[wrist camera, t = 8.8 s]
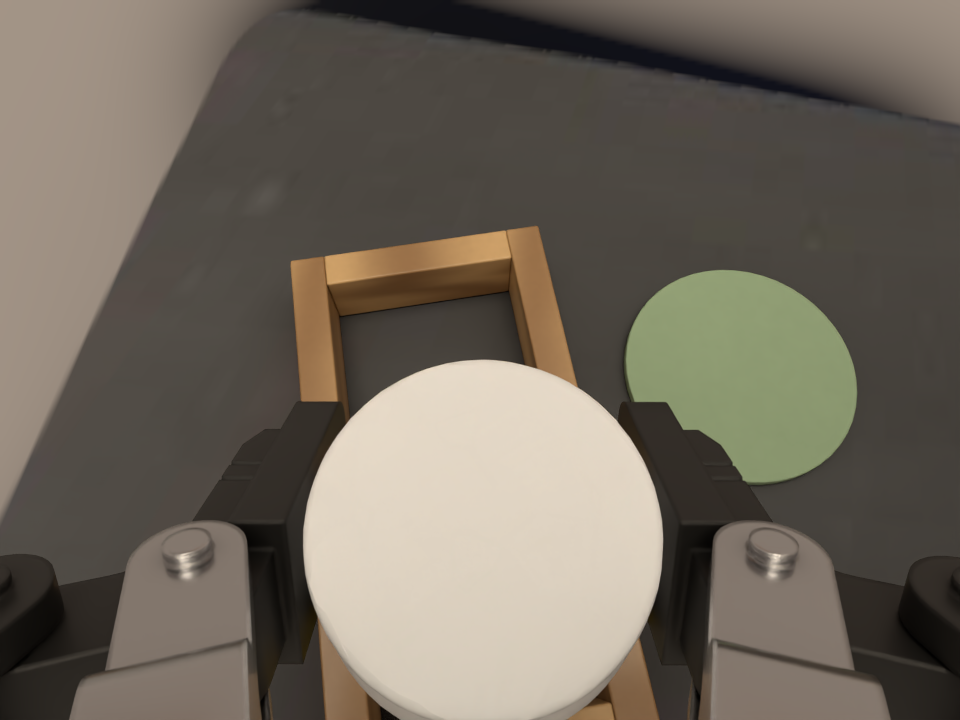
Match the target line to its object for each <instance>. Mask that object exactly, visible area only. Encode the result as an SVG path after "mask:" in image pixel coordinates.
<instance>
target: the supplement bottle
mask: <svg viewBox="0 0 960 720" xmlns="http://www.w3.org/2000/svg"><path fill="white" fill-rule="evenodd" d="M303 555H304V567H305V576H306V580H307V585H308V589H309V593H310V596H311V600H312V603H313V606H314V608H315V611H316V614H317V616H318V618H319V621H320V623H321V625H322V627H323V629H324V631H325V633H326V635H327V637H328V639H329V640H330V642H331V643H332V645H333V646H334V648H335V649H336V650H337V653H338V654H339V656H340V658H341V659H342V661H343V663H344V664H345V666H346V668H347V669H348V671H349V672H350V673H351V675H352V676H353V677H354V678H355V680H356V681H357V682H358V684H359V685H360V686H361V687H362V688H363V689H364V690H365V692H366V693H367V694H368V695H369V696H371V697H372V698H373V699H374V700H375V701H376V702H377V703H378V704H379V705H380V706H381V707H383V708H384V709H386V710H387V711H388V712H390V713H391V714H393V715H394V716H396V717H397V718H399V719H400V720H567V719H568V718H570V717H571V716H573V715H574V714H576V713H577V712H578V711H580V710H581V709H582V708H584V707H585V706H586V705H588V704H589V703H590V702H591V701H592V700H593V699H594V698H595V697H596V696H597V695H598V694H599V693H600V692H601V691H602V690H603V689H604V688H605V687H606V686H607V684H608V683H609V682H610V680H611V679H612V678H613V677H614V675H615V674H616V673H617V671H618V670H619V668H620V667H621V665H622V664H623V662H624V661H625V659H626V657H627V656H628V654H629V653H630V651H631V650H632V648H633V646H634V645H635V643H636V641H637V640H638V638H639V637H640V635H641V633H642V631H643V629H644V626H645V624H646V622H647V620H648V617H649V615H650V612H651V610H652V607H653V604H654V602H655V599H656V595H657V591H658V588H659V582H660V576H661V570H662V555H663V527H662V517H661V512H660V507H659V503H658V499H657V495H656V491H655V487H654V484H653V482H652V479H651V477H650V474H649V472H648V469H647V467H646V465H645V463H644V461H643V459H642V457H641V455H640V454H639V452H638V450H637V449H636V447H635V445H634V444H633V442H632V440H631V438H630V437H629V436H628V435H627V433H626V432H625V431H624V430H623V428H622V427H621V426H620V425H619V423H618V422H617V421H616V420H615V419H614V418H613V417H612V416H611V415H610V414H609V413H608V411H607V410H606V409H604V408H603V407H602V406H601V405H600V404H599V403H598V402H597V401H596V400H594V399H593V398H592V397H590V396H589V395H588V394H586V393H585V392H583V391H582V390H580V389H579V388H577V387H575V386H574V385H572V384H571V383H569V382H567V381H565V380H563V379H561V378H559V377H557V376H555V375H552V374H550V373H547V372H545V371H542V370H539V369H536V368H532V367H529V366H525V365H521V364H516V363H512V362H505V361H497V360H470V361H459V362H453V363H446V364H443V365H439V366H435V367H432V368H428V369H425V370H423V371H420V372H417V373H415V374H413V375H410V376H408V377H406V378H404V379H402V380H400V381H398V382H397V383H395V384H393V385H391V386H390V387H388V388H386V389H385V390H383V391H381V392H380V393H379V394H378V395H376V396H375V397H374V398H373V399H371V400H370V401H369V402H368V403H367V404H366V405H364V406H363V407H362V408H361V409H360V410H359V411H358V412H357V413H356V414H355V415H354V416H353V417H352V418H351V419H350V420H349V421H348V423H347V424H346V425H345V426H344V428H343V429H342V430H341V431H340V433H339V434H338V435H337V437H336V438H335V440H334V441H333V443H332V445H331V446H330V448H329V449H328V451H327V452H326V454H325V456H324V458H323V460H322V462H321V464H320V467H319V469H318V472H317V474H316V476H315V479H314V482H313V485H312V488H311V491H310V495H309V498H308V502H307V507H306V514H305V521H304V527H303Z"/></svg>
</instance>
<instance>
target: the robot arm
mask: <svg viewBox="0 0 960 720" xmlns="http://www.w3.org/2000/svg"><path fill="white" fill-rule="evenodd" d="M618 423H619V425H620V426H621V427H622V428H623V430H624V431H625V432H626V433H627V435H628V436H629V437H630V438H631V440H632V442H633V444H634V445H635V447H636V449H637V450H638V452H639V454H640V455H641V457H642V459H643V461H644V463H645V465H646V467H647V469H648V472H649V474H650V477H651V479H652V482H653V484H654V487H655V491H656V495H657V499H658V503H659V507H660V512H661V517H662V527H663V555H662V570H661V576H660V582H659V588H658V591H657V595H656V599H655V602H654V604H653V607H652V610H651V612H650V615H649V617H648V623H649V626H650V629H651V632H652V636H653V639H654V642H655V645H656V648H657V652H658V655H659V658H660V661H661V664H662V665H688V668H689V670H690V673H691V676H692V683H691V689H690V696H689V702H688V715H687V720H960V558H958V557H950V556H933V557H926V558H923V559H920V560H918V561H916V562H915V563H914V564H913V565H912V566H911V567H910V570H909V572H908V576H907V579H906V583H905V586H899V585H895V584H890V583H885V582H880V581H875V580H870V579H865V578H860V577H856V576H851V575H847V574H843V573H840V572H837V571H834V567H833V563H832V560H831V558H830V556H829V555H828V553H827V552H826V551H825V550H824V549H823V548H822V546H820V545H819V544H818V543H817V542H816V541H814V540H813V539H811V538H810V537H808V536H807V535H805V534H803V533H801V532H799V531H797V530H794V529H792V528H790V527H787V526H784V525H780V524H777V523H773V521H772V520H771V518H770V517H769V516H768V514H767V513H766V511H765V510H764V508H763V507H762V505H761V504H760V502H759V501H758V499H757V498H756V496H755V495H754V493H753V492H752V490H751V489H750V487H749V486H748V484H747V483H746V481H743V479H742V475H741V474H740V472H739V471H738V469H737V468H736V466H733V462H732V460H731V459H730V457H729V456H728V455H727V453H726V452H725V450H724V449H723V447H722V446H721V444H719V443H718V442H716V441H715V440H713V439H712V438H710V437H709V436H707V435H706V434H704V433H703V432H701V431H700V430H683V428H682V427H681V425H680V423H679V422H678V420H677V418H676V416H675V415H674V413H673V411H672V410H671V408H670V406H669V405H668V403H667V402H622V403H621V406H620V409H619V415H618ZM345 425H346V420H345V411H344V406H343V404H342V402H341V401H298V402H297V403H296V404H295V406H294V407H293V409H292V411H291V412H290V414H289V416H288V418H287V419H286V421H285V423H284V424H283V426H282V428H281V429H265V430H263V431H262V432H260V433H259V434H257V435H256V436H255V437H253V438H252V439H250V440H249V441H247V442H246V443H244V444H243V445H242V447H241V448H240V450H239V451H238V453H237V454H236V456H235V457H234V459H233V460H232V464H231V465H229V466H228V468H227V469H226V471H225V472H224V474H223V475H222V480H219V481H218V483H217V484H216V486H215V487H214V489H213V490H212V492H211V493H210V495H209V496H208V498H207V499H206V501H205V502H204V504H203V506H202V507H201V509H200V510H199V512H198V513H197V515H196V516H195V518H194V519H193V521H192V522H188V523H183V524H180V525H176V526H173V527H170V528H168V529H166V530H163V531H161V532H159V533H157V534H155V535H153V536H152V537H150V538H149V539H147V540H146V541H144V542H143V543H142V544H141V545H140V546H138V548H137V549H136V550H135V551H134V552H133V553H132V555H131V556H130V558H129V560H128V563H127V567H126V571H125V572H122V573H118V574H114V575H110V576H105V577H100V578H95V579H90V580H85V581H80V582H76V583H71V584H66V585H61V586H58V582H57V579H56V575H55V572H54V569H53V566H52V564H51V563H50V562H49V561H48V560H46V559H44V558H43V557H39V556H36V555H29V554H14V555H5V556H0V720H273V715H272V702H271V696H270V689H269V686H270V684H271V681H272V678H273V675H274V672H275V670H276V667H277V664H303V662H304V659H305V656H306V652H307V649H308V646H309V643H310V639H311V636H312V633H313V630H314V626H315V623H316V620H317V614H316V611H315V608H314V606H313V603H312V600H311V596H310V593H309V589H308V585H307V580H306V576H305V567H304V555H303V527H304V521H305V514H306V507H307V502H308V498H309V495H310V491H311V488H312V485H313V482H314V479H315V476H316V474H317V472H318V469H319V467H320V464H321V462H322V460H323V458H324V456H325V454H326V452H327V451H328V449H329V448H330V446H331V445H332V443H333V441H334V440H335V438H336V437H337V435H338V434H339V433H340V431H341V430H342V429H343V428H344V426H345Z"/></svg>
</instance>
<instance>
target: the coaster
mask: <svg viewBox="0 0 960 720" xmlns="http://www.w3.org/2000/svg"><path fill="white" fill-rule="evenodd" d="M624 374H625V381H626V386H627V391H628V393H629V396H630V399H631V402H667V403H668V405H669V406H670V408H671V410H672V411H673V413H674V415H675V416H676V418H677V420H678V422H679V423H680V425H681V427H682V428H683V430H700V431H701V432H703V433H704V434H706V435H707V436H709V437H710V438H712V439H713V440H715V441H716V442H718V443H719V444H721V446H722V447H723V449H724V450H725V452H726V453H727V455H728V456H729V457H730V459H731V460H732V462H733V466H736V468H737V469H738V471H739V472H740V474H741V475H742V479H743V481H746V483H747V484H748V485H765V484H774V483H779V482H783V481H787V480H791V479H793V478H796V477H798V476H801V475H803V474H805V473H807V472H809V471H810V470H812V469H814V468H815V467H817V466H819V465H820V464H822V463H823V462H824V461H825V460H826V459H828V458H829V457H830V456H831V455H832V454H833V453H834V452H835V450H836V449H837V448H838V447H839V446H840V445H841V443H842V441H843V440H844V438H845V436H846V435H847V433H848V431H849V428H850V426H851V424H852V421H853V417H854V413H855V409H856V400H857V384H856V376H855V371H854V366H853V363H852V360H851V357H850V354H849V351H848V349H847V347H846V345H845V343H844V341H843V339H842V338H841V336H840V335H839V333H838V332H837V330H836V328H835V327H834V326H833V324H832V323H831V322H830V321H829V320H828V318H827V317H826V316H825V315H824V314H823V313H822V312H821V311H820V310H819V309H818V308H817V307H816V306H815V305H814V304H813V303H811V302H810V301H809V300H808V299H806V298H805V297H804V296H802V295H801V294H799V293H798V292H796V291H794V290H793V289H791V288H790V287H788V286H786V285H783V284H781V283H779V282H777V281H775V280H772V279H770V278H767V277H764V276H761V275H757V274H753V273H749V272H742V271H734V270H716V271H706V272H701V273H696V274H692V275H689V276H687V277H684V278H681V279H679V280H677V281H675V282H673V283H671V284H669V285H667V286H666V287H664V288H663V289H661V290H660V291H659V292H657V293H656V294H655V295H654V296H653V297H652V298H651V299H650V300H649V301H648V302H647V303H646V304H645V306H644V307H643V308H642V309H641V311H640V312H639V314H638V316H637V318H636V319H635V321H634V323H633V325H632V328H631V330H630V333H629V335H628V338H627V343H626V347H625V354H624Z"/></svg>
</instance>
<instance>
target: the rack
mask: <svg viewBox="0 0 960 720" xmlns="http://www.w3.org/2000/svg"><path fill="white" fill-rule="evenodd" d="M290 264H291V277H292V290H293V303H294V316H295V330H296V343H297V356H298V369H299V382H300V395H301V401H341V402H342V404H343V406H344V411H345V420H346V424H347V423H348V421H349V420H350V414H349V405H348V395H347V386H346V376H345V367H344V357H343V348H342V338H341V329H340V319H339V315H340V316H344V315H351V314H358V313H364V312H371V311H378V310H384V309H391V308H398V307H404V306H411V305H418V304H424V303H431V302H438V301H444V300H451V299H458V298H464V297H471V296H478V295H484V294H491V293H498V292H504V291H508V289H509V293H510V298H511V302H512V307H513V312H514V316H515V321H516V325H517V330H518V335H519V339H520V344H521V348H522V353H523V358H524V362H525V366H529V367H532V368H536V369H539V370H542V371H545V372H547V373H550V374H552V375H555V376H557V377H559V378H561V379H563V380H565V381H567V382H569V383H571V384H572V385H574V386H575V387H577V388H578V386H577V382H576V378H575V374H574V370H573V366H572V362H571V358H570V354H569V350H568V346H567V342H566V337H565V333H564V329H563V325H562V321H561V317H560V313H559V309H558V305H557V301H556V297H555V293H554V289H553V285H552V281H551V277H550V273H549V268H548V264H547V260H546V256H545V252H544V248H543V244H542V240H541V236H540V232H539V228H538V226H533V227H526V228H519V229H512V230H507V231H506V232H505V231H499V232H492V233H485V234H478V235H471V236H464V237H457V238H450V239H443V240H436V241H429V242H422V243H415V244H408V245H401V246H394V247H387V248H380V249H373V250H366V251H359V252H352V253H345V254H338V255H331V256H326V257H325V258H324V257H317V258H310V259H303V260H296V261H291V263H290ZM317 618H318V616H317ZM318 631H319V645H320V658H321V671H322V684H323V697H324V710H325V720H381V710H380V705H379V704H378V703H377V702H376V701H375V700H374V699H373V698H372V697H371V696H369V695H368V694H367V693H366V692H365V690H364V689H363V688H362V687H361V686H360V685H359V684H358V682H357V681H356V680H355V678H354V677H353V676H352V675H351V673H350V672H349V671H348V669H347V668H346V666H345V664H344V663H343V661H342V659H341V658H340V656H339V654H338V653H337V650H336V649H335V648H334V646H333V645H332V643H331V642H330V640H329V639H328V637H327V635H326V633H325V631H324V629H323V627H322V625H321V623H320V621H319V618H318ZM567 720H660V719H659V715H658V711H657V707H656V703H655V699H654V695H653V691H652V687H651V683H650V679H649V675H648V671H647V666H646V662H645V658H644V654H643V650H642V646H641V642H640V638H638V640H637V641H636V643H635V645H634V646H633V648H632V650H631V651H630V653H629V654H628V656H627V657H626V659H625V661H624V662H623V664H622V665H621V667H620V668H619V670H618V671H617V673H616V674H615V675H614V677H613V678H612V679H611V680H610V682H609V683H608V684H607V686H606V687H605V688H604V689H603V690H602V691H601V692H600V693H599V694H598V695H597V698H596V697H595V698H594V699H593V700H592V701H591V702H590V703H589V704H588V705H586V706H585V707H584V708H582V709H581V710H580V711H578V712H577V713H576V714H574V715H573V716H571V717H570V718H568V719H567Z"/></svg>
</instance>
